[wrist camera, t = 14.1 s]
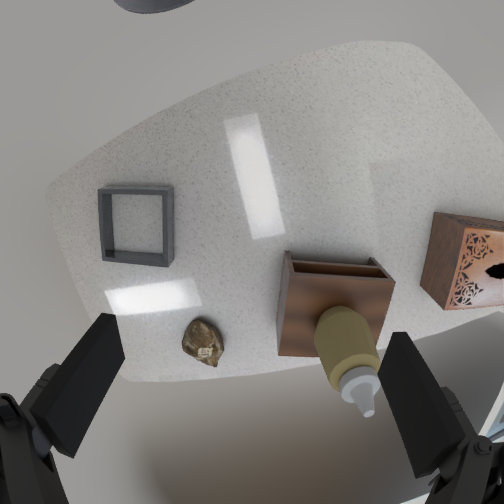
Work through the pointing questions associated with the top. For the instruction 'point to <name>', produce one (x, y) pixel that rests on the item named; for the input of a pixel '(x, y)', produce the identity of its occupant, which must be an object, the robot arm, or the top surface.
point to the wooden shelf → (327, 299)
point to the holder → (107, 227)
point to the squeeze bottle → (349, 356)
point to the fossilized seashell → (203, 343)
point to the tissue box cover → (465, 262)
